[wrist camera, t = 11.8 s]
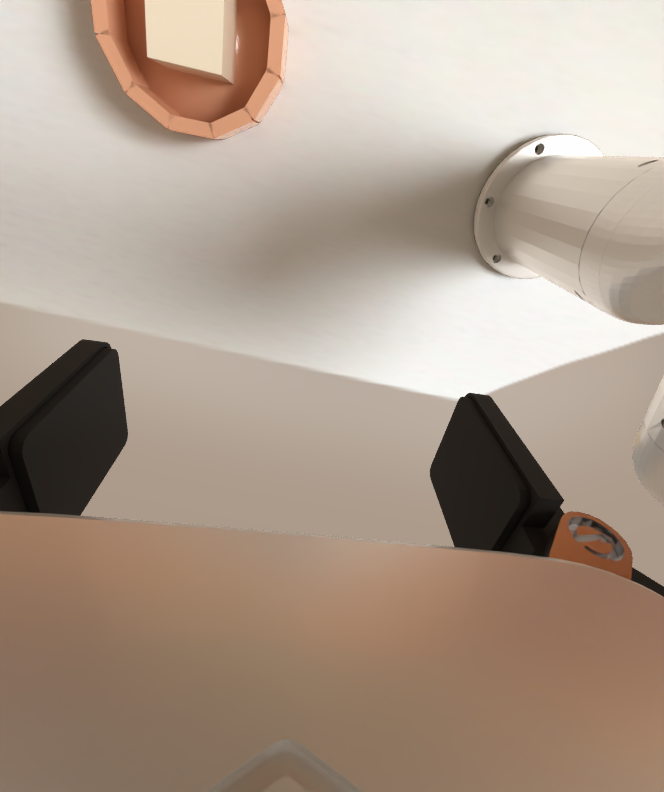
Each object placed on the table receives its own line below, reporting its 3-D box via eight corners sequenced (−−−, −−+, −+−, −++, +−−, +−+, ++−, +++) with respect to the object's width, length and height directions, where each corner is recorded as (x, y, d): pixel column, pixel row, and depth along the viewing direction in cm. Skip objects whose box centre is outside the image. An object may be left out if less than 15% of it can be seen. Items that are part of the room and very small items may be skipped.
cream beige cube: (237, 0, 29) (224, -25, 25) (233, 84, 32) (221, 75, 27) (167, -18, 28) (142, -47, 24) (170, 69, 31) (147, 56, 27)
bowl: (296, -59, 28) (294, -88, 25) (277, 151, 35) (273, 151, 31) (105, -113, 26) (74, -151, 23) (124, 119, 33) (103, 116, 30)
